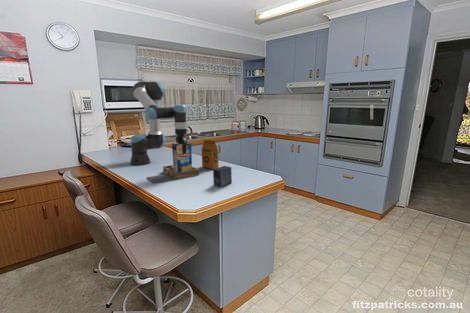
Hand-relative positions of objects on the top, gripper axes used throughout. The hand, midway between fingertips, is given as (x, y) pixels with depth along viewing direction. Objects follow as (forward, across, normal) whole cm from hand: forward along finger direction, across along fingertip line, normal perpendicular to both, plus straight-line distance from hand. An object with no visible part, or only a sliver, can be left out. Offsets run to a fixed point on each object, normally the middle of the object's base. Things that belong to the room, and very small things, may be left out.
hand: (182, 162), depth 173 cm
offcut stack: (+9, -10, 0) cm, 14 cm away
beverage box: (+9, 0, 0) cm, 9 cm away
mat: (+9, 0, -16) cm, 18 cm away
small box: (+9, +33, +11) cm, 36 cm away
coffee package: (+9, -4, +25) cm, 27 cm away
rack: (+9, -3, 0) cm, 9 cm away
